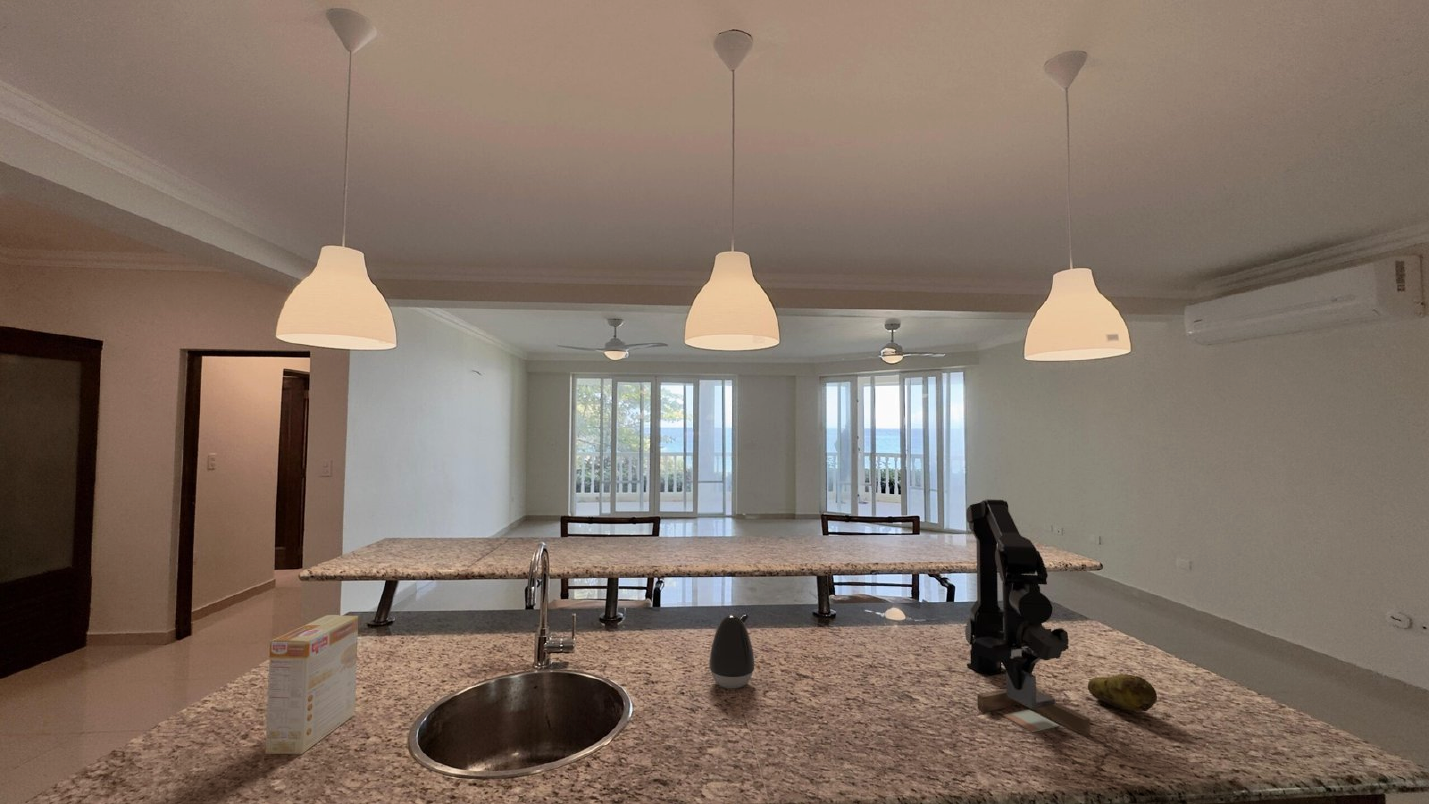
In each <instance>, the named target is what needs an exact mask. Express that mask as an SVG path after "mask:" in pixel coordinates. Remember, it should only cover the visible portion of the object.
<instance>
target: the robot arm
mask: <svg viewBox="0 0 1429 804" xmlns="http://www.w3.org/2000/svg"><path fill="white" fill-rule="evenodd" d="M966 521H967V523H968V528H969V530H970V532H971V533H972V535H973V536H974V538H975V539H976V541H975V542H976V584H977V585H976V593H977V594H976V595H977V596H976V597H977V598H976V601H975V602H974V604H973V605H972V607H971V608H970V610H969V611H970V613H969V618H968V619H967V622H966V625H965V628H964V632H965V633H964V634H965V640H966V642H967V643H968V645H969V646H970V647H971V649H970V655H969V656H970V662H968V663H966V667H968V668H969V669H970V668H971V669H972V670H974V671H977V672H978V673H980V674H983V675H984V676H991V675H997V674H1005V673H1006V671H1007V674H1008V676H1009V678H1010V680H1011V682H1012V684H1013V686H1014V688H1015V689H1017V690H1020V688H1021V676H1022V670H1023V671H1025V672H1028V673H1030V674H1032V675H1033V672H1034V669H1035V666H1036V664H1037V663H1038V662H1039V661H1041V660H1043V661H1050V660H1053V659H1060V657H1062V656H1061V655H1062V652H1066V651H1067V650H1068V649H1069V641H1070V640H1069V633H1068V631H1066V630H1065V629H1064V628H1062V627H1061V628H1054V629H1053V630H1052V629H1051V628H1045V627H1044V626H1043V624H1044V623H1046V622H1048V621H1049V619H1050V618H1051V617H1052V615H1053V605H1052V602H1051V601H1050V599H1049V597H1047V596H1046V595H1045V594H1043V593H1042V592H1041V585H1042V586H1043V585H1044V586H1045V585H1048V581H1047V578H1048V571H1047V568H1046V566H1045V563H1044V559H1043V557H1042V556H1041V553H1040V551H1039V550H1037V548H1036V546H1035V545H1034V543H1033V542H1032V541H1031V540H1030V539H1028V538H1026V537H1024V536H1023V535H1021V533H1020V531H1019V529H1018V528H1017V526H1016V523H1015V521H1014V519H1013V516H1012V515H1011V513H1010V511H1009V503H1008V501H1006V500H1004V499H984V500H982V501H980V502H977V503H972V504H969V506H968V507H967V508H966ZM998 574H999V578H1000V580H1001V581H1002V583H1001V584H1002V589H1001V590H1002V609H1001V607H1000V606H999V598H998V597H999V596H998V595H999V593H998V592H999V591H998V585H999V583H998V581H999V580H998ZM1002 665H1003V667H1002Z"/></svg>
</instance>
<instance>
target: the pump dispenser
mask: <svg viewBox="0 0 1429 804" xmlns="http://www.w3.org/2000/svg"><path fill="white" fill-rule="evenodd" d="M748 618H749V616H748V614H743V615H742V616H741V617H739V616H738V615H734V614H729V615H726V616H725V617H723V618H722V619H721V621H720V623H719V624H718V626H717V628H716V631H715V634H714V637H713V640H712V643H711V649H710V654H709V662H708V663H709V665H708V666H709V667H708V668H709V671H710V673H711V677H712V678H713V680H714V682H715V683H716V684H717V685H719V686H721V687H722V688H725V689H732V690H734V689H739V688H743V687H744V686H746V685H747V684H748V683H749V682H750V680H751V679H752V676H753V673H754V671H755V657H754V650H753V645H752V642H751V637H750V634H749V632H748V629H747V626H746V624H745V622H746V621H747V620H748Z"/></svg>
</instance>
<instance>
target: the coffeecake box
mask: <svg viewBox="0 0 1429 804" xmlns="http://www.w3.org/2000/svg"><path fill="white" fill-rule="evenodd" d="M358 633H359V615H342V614H327V615H324V616H322V617H320V618H318V619H316V620H313V621H311V622H309V623H307V624H304V625H302V626H300V627H298V628H296V629H293V630H291V631H289V632H287V633H285V634H283V635H280V636H278V637H276V638H274V639H271V640H269V655H268V656H269V659H268V661H269V662H268V681H267V683H268V685H267V687H268V688H267V704H266V705H267V706H266V709H267V710H266V728H265V730H266V731H265V735H266V736H265V752H264V753H265V755H266V754H267V755H268V754H269V755H280V754H282V755H303V754H304V753H306V751H308V750H310V749H311V748H312V747H313V746H315V745H316V744H317V743H319V742H320V741H321V740H323V739H324V738H325V737H327V736H328V735H330V734H331V733H332V732H333V731H335V730H337V729H338V728H339V727H340V726H342V725H343V724H344V723H346V722H347V721H348V720H350V719H351V718H353V717H354V716H355V715H356V693H357V692H356V691H357V689H356V688H357V669H358V668H357V666H358V663H357V660H358V642H359V641H358V637H359V636H358V635H359V634H358Z"/></svg>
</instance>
